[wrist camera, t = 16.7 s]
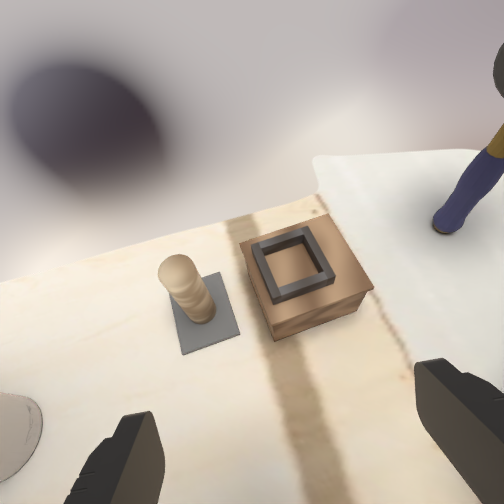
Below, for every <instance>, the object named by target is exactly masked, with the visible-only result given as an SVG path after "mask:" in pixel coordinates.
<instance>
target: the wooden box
mask: <svg viewBox="0 0 504 504" xmlns="http://www.w3.org/2000/svg"><path fill="white" fill-rule="evenodd" d="M239 244H240V247H241V250H242V253H243V255H244V258H245V260H246V265H247V270H248V274H249V277H250V279H251V282H252V284H253V287H254V290H255V292H256V295H257V297H258V300H259V303H260V305H261V308H262V310H263V313H264V316H265V318H266V321H267V323H268V326H269V329H270V331H271V334H272V336H273V339H274V342H275V341H277V340H280V339H283V338H285V337H288V336H291V335H293V334H296V333H299V332H301V331H304V330H307V329H309V328H312V327H315V326H317V325H320V324H323V323H325V322H328V321H331V320H333V319H336V318H339V317H341V316H344V315H347V314H350V313H352V312H355V311H357V309H358V307H359V306H360V304H361V302H362V300H363V298H364V297H365V295H366V293H367V291H370V290H373V289H374V286H373V284H372V283H371V281H370V279H369V278H368V276H367V275H366V273H365V271H364V270H363V268H362V267H361V265H360V263H359V262H358V260H357V259H356V257H355V255H354V254H353V252H352V251H351V249H350V247H349V246H348V244H347V243H346V241H345V239H344V238H343V236H342V235H341V233H340V231H339V230H338V228H337V227H336V225H335V223H334V222H333V220H332V219H331V217H330V215H329V214H325V215H322V216H319V217H316V218H313V219H310V220H308V221H305V222H302V223H299V224H296V225H293V226H290V227H287V228H284V229H281V230H278V231H275V232H272V233H269V234H266V235H263V236H260V237H257V238H254V239H251V240H248V241H245V242H242V243H239Z"/></svg>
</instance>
